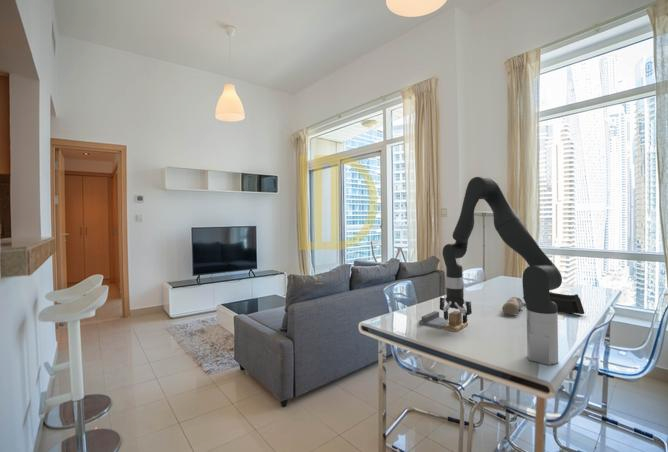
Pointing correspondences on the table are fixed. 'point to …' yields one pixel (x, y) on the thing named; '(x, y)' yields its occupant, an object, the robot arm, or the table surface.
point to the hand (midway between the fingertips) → (455, 321)
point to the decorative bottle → (512, 306)
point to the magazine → (567, 303)
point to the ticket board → (434, 320)
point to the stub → (455, 322)
